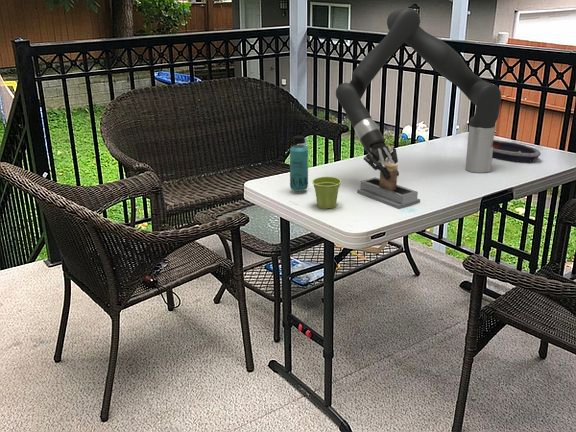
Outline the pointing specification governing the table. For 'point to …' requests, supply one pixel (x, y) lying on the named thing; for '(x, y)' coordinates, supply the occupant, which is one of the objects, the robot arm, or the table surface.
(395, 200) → the grey rectangular tray
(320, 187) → the plant pot
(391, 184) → the brown rectangular block
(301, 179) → the beverage bottle
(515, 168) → the table surface
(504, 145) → the dish
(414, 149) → the table surface
